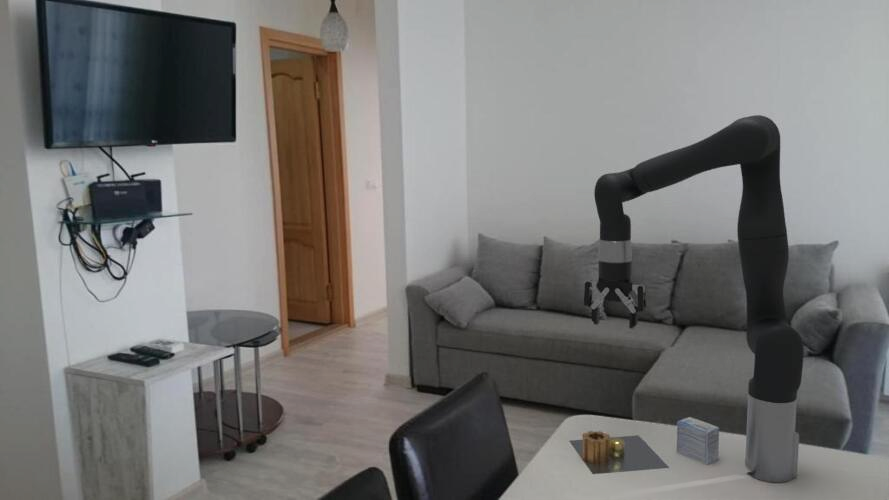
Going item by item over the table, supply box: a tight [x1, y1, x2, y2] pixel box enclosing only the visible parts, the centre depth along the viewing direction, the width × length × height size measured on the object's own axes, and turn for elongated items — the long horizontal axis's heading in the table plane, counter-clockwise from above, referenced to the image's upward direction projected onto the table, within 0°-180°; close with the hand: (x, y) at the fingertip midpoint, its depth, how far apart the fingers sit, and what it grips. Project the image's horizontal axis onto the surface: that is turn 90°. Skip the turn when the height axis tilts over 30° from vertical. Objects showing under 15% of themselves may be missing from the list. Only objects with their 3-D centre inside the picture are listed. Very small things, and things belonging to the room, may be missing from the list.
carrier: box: [569, 434, 670, 475], centre depth 157 cm, size 17×17×5 cm
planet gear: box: [582, 430, 611, 464], centre depth 155 cm, size 6×6×5 cm
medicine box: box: [676, 416, 720, 465], centre depth 155 cm, size 8×4×9 cm, turn 34°
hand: (614, 325), depth 166 cm, fingers open, 8 cm apart
